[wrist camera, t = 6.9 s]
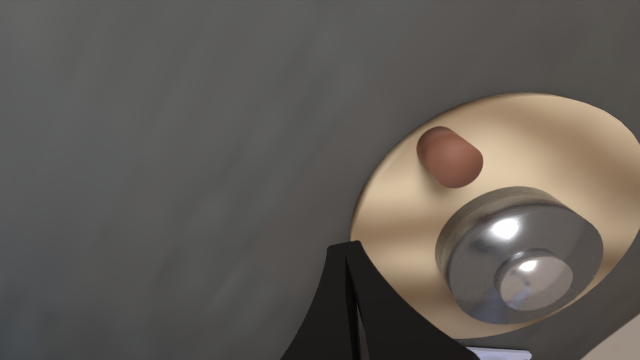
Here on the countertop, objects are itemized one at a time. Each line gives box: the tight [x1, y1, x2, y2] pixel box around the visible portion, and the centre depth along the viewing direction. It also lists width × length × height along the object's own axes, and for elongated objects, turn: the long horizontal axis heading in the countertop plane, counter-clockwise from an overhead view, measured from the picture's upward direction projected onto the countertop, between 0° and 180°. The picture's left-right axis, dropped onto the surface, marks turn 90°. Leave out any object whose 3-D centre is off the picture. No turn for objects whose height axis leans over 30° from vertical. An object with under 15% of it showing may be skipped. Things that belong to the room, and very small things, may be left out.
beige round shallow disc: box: [350, 92, 640, 339], centre depth 21 cm, size 20×20×4 cm
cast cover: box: [435, 186, 604, 325], centre depth 20 cm, size 9×9×4 cm
